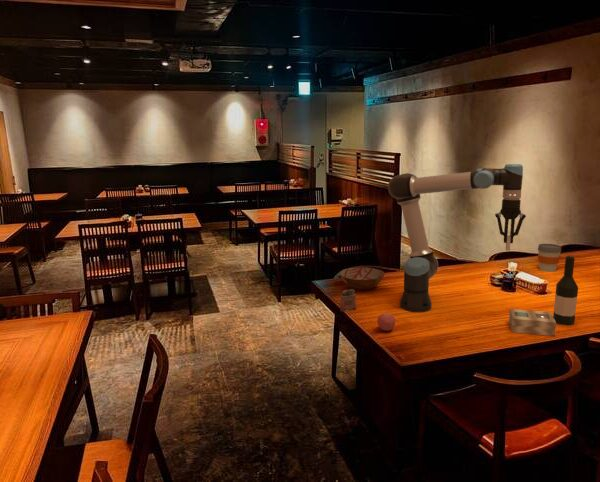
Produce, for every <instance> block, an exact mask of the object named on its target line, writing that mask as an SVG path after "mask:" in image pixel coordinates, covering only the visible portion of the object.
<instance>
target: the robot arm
mask: <svg viewBox="0 0 600 482" xmlns="http://www.w3.org/2000/svg"><path fill="white" fill-rule="evenodd" d="M523 177H524V166H523V165H522V164H521V163H506V164H505V165H504V167H503V168H488V167H487V168H486V167H483V168H477V169H476V170H475V171H474V170H473V171H465V172H456V173H450V174H441V175H440V174H439V175H432V176H431V175H430V176H429V175H428V176H422V177H421V176H420V177H417V176H416V175H415V174H413V173H408V172H407V173H401V174H397V175H395V176H393V177H392V178H391V179H390V180H389V182H388V185H387V190H388V193H389V195H390V196H391V197H393V199H396V203H397V204H398V205H400V207H401V211H402V214H403V215H402V216H403V219H404V224H405V227H406V232H407V237H408V241H409V246H410V249H411V252H410V254H409V258H407V259H406V260H405V261H404V266H403V277H404V278H403V292H402V295H401V297H400V299H399V307H400V309H403V310H405V311H408V312H413V313H423V312H428V311H430V310H432V307H433V306H432V299H431V297H430V293H429V287H430V283H429V282H430V279H431V278H433V277H434V276H435V274H437V271H438V269H439V261H438V259H437V258H436V256H435V255H434V251H433V249H431V248H430V246H429V241H428V239H427V234H426V229H425V224H424V220H423V217H422V211H421V208H420V204H419V201H420V200H421V195H422V194H433V193H443V192H452V191H462V190H474V189H475V190H476V189H480V190H481V189H482V190H483V189H484V190H485V189H489V188H490V187H491V186H502V200H501V209H500V211H499V212H497V213H495V214H494V216H495V217H496V220H497V223H498V224H497V225H498V230H499V234H500V235H501V236H503V244H505V251H506V252H510V251H511V244H514V237H516V236H519V233H520V230H521V227H522V224H523V221H524V220H525V218H526V217H527V215H526V214H525V213H523V212H522V210H521V202H522V201H521V198H522V189H523V188H522V187H523ZM501 217H503V218H504V230H503V224H502V220H501ZM518 217H519V219H518V222H517V225H516V227H515V223H516V219H517V218H518ZM509 220H510V229H509ZM509 230H510V233H509ZM508 233H509V235H508Z"/></svg>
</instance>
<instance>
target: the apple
mask: <svg viewBox="0 0 600 482" xmlns="http://www.w3.org/2000/svg"><path fill="white" fill-rule="evenodd" d="M395 324H396V318H395V316H394V315H393V314H391V313H388V312H387V313H386V312H384V313H381V314H379V316H378V318H377V325H378V327H379V328H380V329H381V330H382V331H384V332H385V331H386V332H389V331H391V330H393V328H394V327H395Z"/></svg>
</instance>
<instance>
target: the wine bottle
mask: <svg viewBox="0 0 600 482" xmlns="http://www.w3.org/2000/svg"><path fill="white" fill-rule="evenodd" d="M564 260H565V261H564V269H563V271H564V272H563V276H562V277H561V278H560V280H558V281H557V283H556V286H555V295H554V306H553V315H552V316H553V318H554V320H555V321H556V325H557V324H558V325H560V324H561V326H569V325H570V326H573V325H575V320H576V310H577V304H578V303H577V302H578V301H577V300H578V294H579V286H578V284H577V283H576V280H575V279H574V277H573V276H574V268H575V256H574V255H570V254H568V255H566V257H565V259H564Z"/></svg>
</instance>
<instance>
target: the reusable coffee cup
mask: <svg viewBox="0 0 600 482" xmlns="http://www.w3.org/2000/svg"><path fill="white" fill-rule="evenodd" d="M537 251H538V253H537V261H538V269H539V270H540V271H542V272H546V273H548V272H549V273H553V272H556V271H557V267H558V264H559V262H560V259H561V252H562V246H561V245H559V244H553V243H540V244H538V246H537Z"/></svg>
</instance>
